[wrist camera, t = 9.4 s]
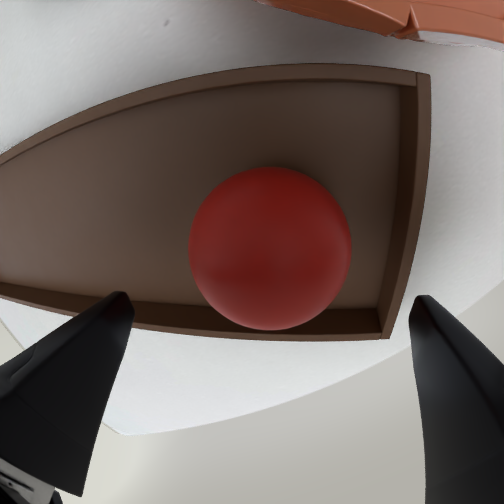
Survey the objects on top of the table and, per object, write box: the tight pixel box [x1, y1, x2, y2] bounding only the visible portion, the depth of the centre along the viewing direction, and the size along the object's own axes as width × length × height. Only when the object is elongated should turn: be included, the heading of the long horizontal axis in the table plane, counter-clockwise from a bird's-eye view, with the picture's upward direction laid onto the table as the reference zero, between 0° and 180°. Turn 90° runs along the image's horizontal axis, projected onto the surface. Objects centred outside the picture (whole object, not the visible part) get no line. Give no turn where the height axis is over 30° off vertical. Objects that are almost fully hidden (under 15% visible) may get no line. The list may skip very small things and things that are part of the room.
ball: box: [188, 167, 352, 330], centre depth 10 cm, size 6×6×6 cm
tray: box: [0, 63, 431, 341], centre depth 15 cm, size 40×13×3 cm, turn 96°
